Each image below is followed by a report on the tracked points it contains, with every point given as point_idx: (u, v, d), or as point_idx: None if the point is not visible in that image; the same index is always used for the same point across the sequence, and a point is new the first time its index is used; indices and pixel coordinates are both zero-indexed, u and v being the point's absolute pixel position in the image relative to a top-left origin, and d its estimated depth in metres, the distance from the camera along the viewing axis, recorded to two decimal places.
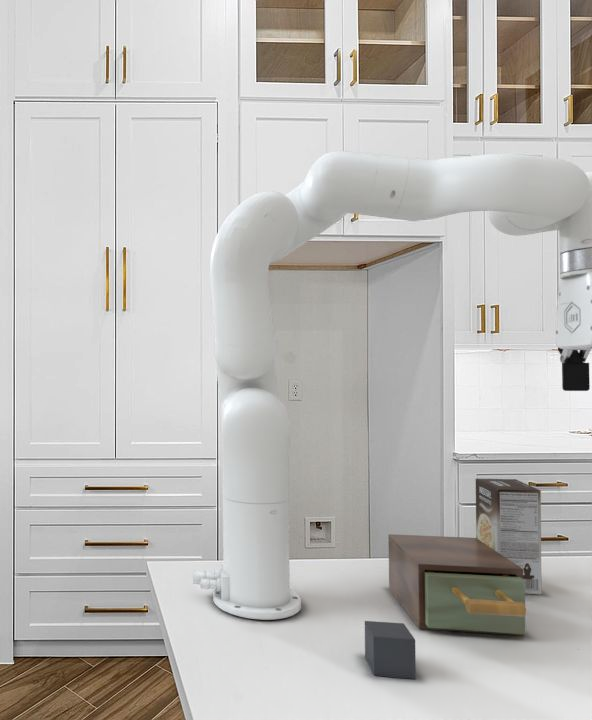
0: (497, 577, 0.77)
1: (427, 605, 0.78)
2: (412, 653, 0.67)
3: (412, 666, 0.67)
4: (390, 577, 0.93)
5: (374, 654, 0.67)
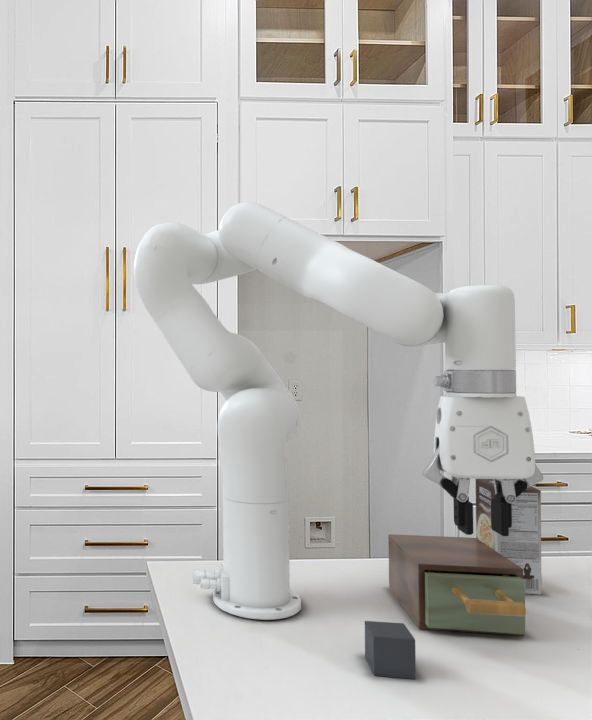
0: (497, 577, 0.77)
1: (427, 605, 0.78)
2: (412, 653, 0.67)
3: (412, 666, 0.67)
4: (390, 577, 0.93)
5: (374, 654, 0.67)
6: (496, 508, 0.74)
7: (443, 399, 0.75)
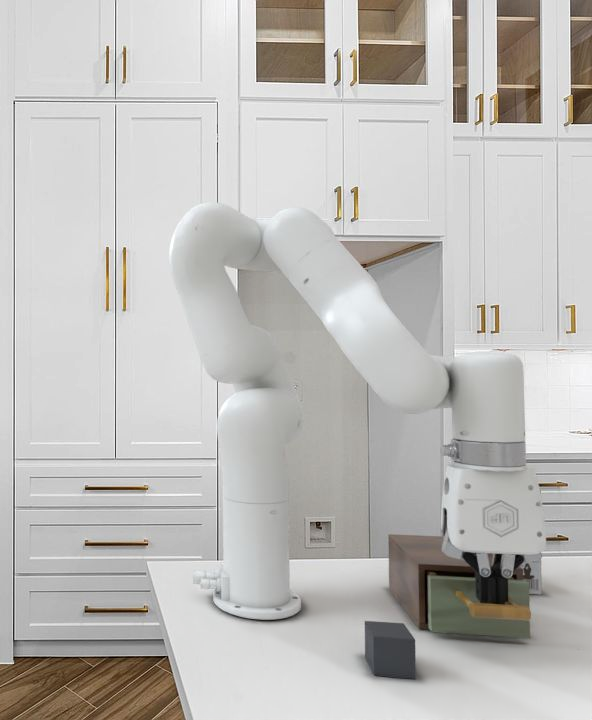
0: None
1: (430, 608, 0.77)
2: (412, 653, 0.67)
3: (412, 666, 0.67)
4: (390, 577, 0.93)
5: (374, 654, 0.67)
6: None
7: (451, 470, 0.73)
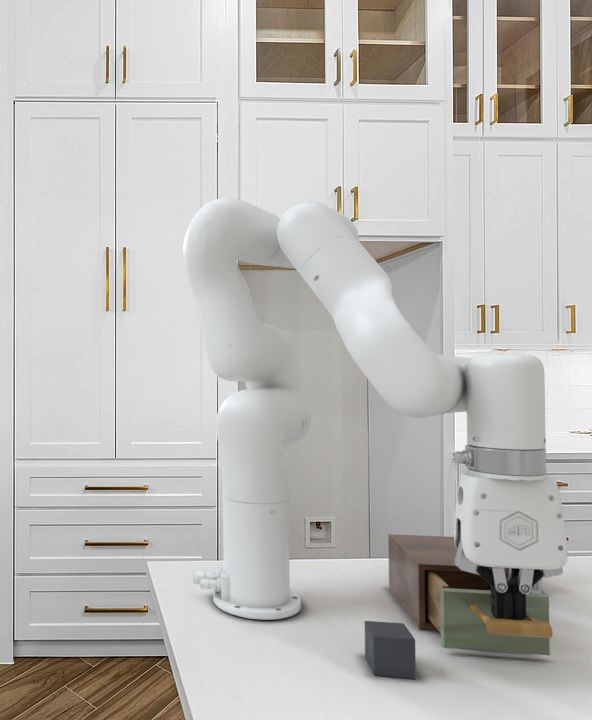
0: None
1: (442, 623, 0.72)
2: (412, 653, 0.67)
3: (412, 666, 0.67)
4: (390, 577, 0.93)
5: (374, 654, 0.67)
6: None
7: (465, 478, 0.68)
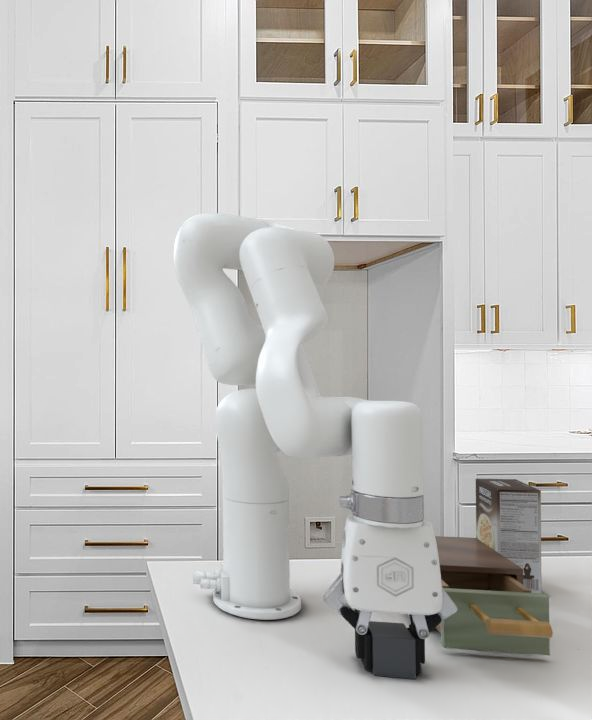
0: (519, 593, 0.71)
1: (442, 623, 0.72)
2: (412, 653, 0.67)
3: (412, 666, 0.67)
4: None
5: (374, 654, 0.67)
6: None
7: (347, 523, 0.69)
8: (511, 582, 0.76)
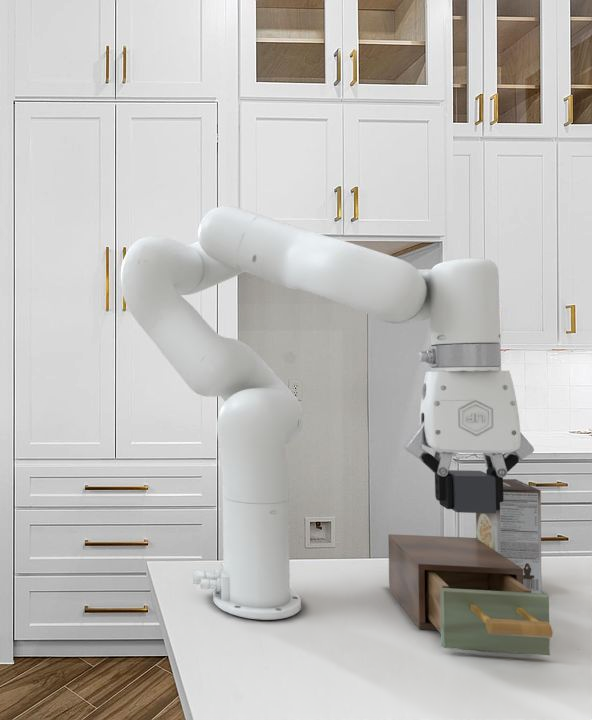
0: (519, 593, 0.71)
1: (442, 623, 0.72)
2: (492, 489, 0.72)
3: (493, 501, 0.72)
4: (390, 577, 0.93)
5: (456, 492, 0.72)
6: None
7: (428, 374, 0.75)
8: (511, 582, 0.76)
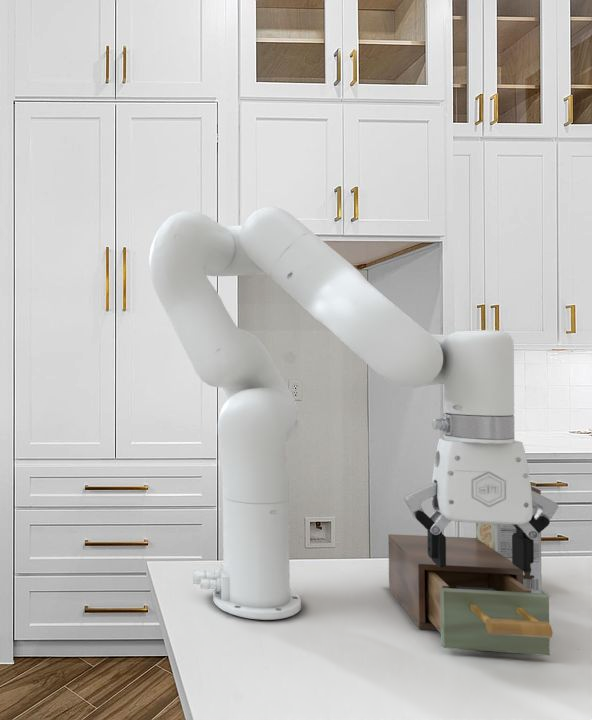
0: (519, 593, 0.71)
1: (442, 623, 0.72)
2: None
3: None
4: (390, 577, 0.93)
5: None
6: (518, 543, 0.74)
7: (441, 443, 0.75)
8: (511, 582, 0.76)
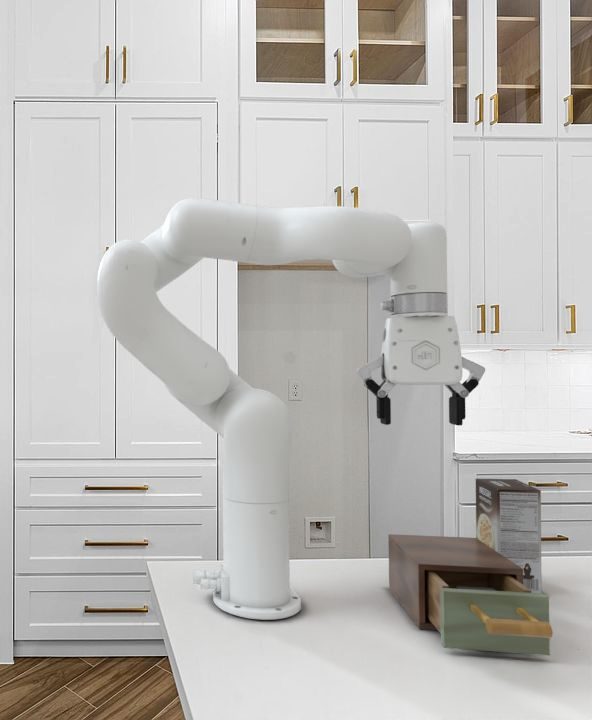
0: (519, 593, 0.71)
1: (442, 623, 0.72)
2: None
3: None
4: (390, 577, 0.93)
5: None
6: (452, 403, 0.88)
7: (387, 320, 0.89)
8: (511, 582, 0.76)
